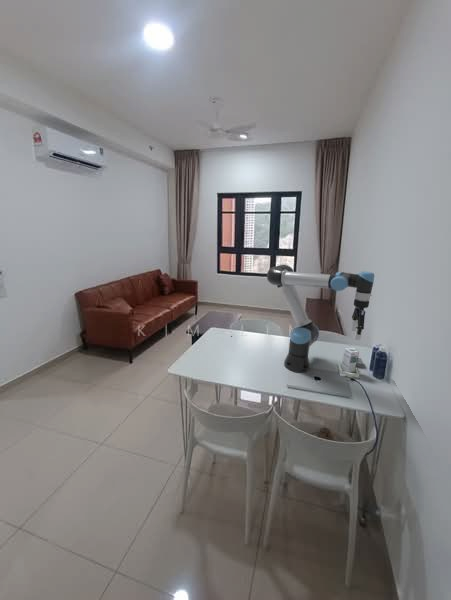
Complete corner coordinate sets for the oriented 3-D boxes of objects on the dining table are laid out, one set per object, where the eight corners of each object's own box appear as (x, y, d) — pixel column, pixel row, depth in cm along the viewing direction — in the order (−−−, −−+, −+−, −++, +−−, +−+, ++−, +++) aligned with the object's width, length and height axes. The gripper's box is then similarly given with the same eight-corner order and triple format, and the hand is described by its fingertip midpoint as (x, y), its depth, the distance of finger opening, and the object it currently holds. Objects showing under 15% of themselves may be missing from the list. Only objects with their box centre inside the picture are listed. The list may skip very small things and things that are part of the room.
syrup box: (347, 374, 158) (351, 352, 155) (340, 369, 164) (344, 347, 160) (355, 373, 160) (359, 351, 156) (348, 368, 165) (352, 347, 161)
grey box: (350, 370, 165) (351, 364, 164) (347, 360, 177) (347, 355, 176) (364, 372, 163) (365, 367, 162) (360, 362, 175) (361, 357, 174)
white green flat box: (339, 376, 157) (340, 371, 157) (337, 365, 170) (337, 361, 169) (359, 379, 155) (360, 375, 154) (354, 368, 167) (355, 364, 167)
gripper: (375, 306, 137) (367, 344, 143) (364, 295, 160) (357, 328, 166) (359, 304, 139) (351, 342, 145) (350, 293, 162) (344, 326, 168)
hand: (355, 334), depth 155 cm, fingers open, 13 cm apart
